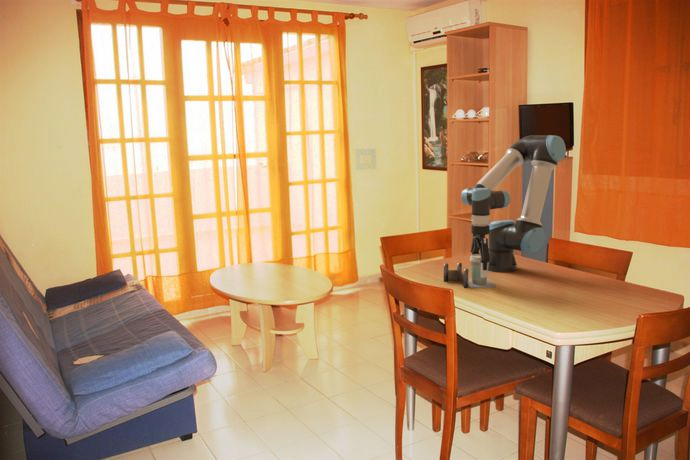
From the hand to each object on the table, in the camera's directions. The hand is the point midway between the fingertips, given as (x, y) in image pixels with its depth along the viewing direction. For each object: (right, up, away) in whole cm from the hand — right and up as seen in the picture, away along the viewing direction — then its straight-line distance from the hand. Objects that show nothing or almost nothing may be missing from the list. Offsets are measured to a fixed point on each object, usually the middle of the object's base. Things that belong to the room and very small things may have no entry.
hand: (479, 273), depth 256 cm
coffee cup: (0, -4, +1) cm, 5 cm away
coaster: (0, -5, +1) cm, 5 cm away
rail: (-10, -5, +2) cm, 11 cm away
